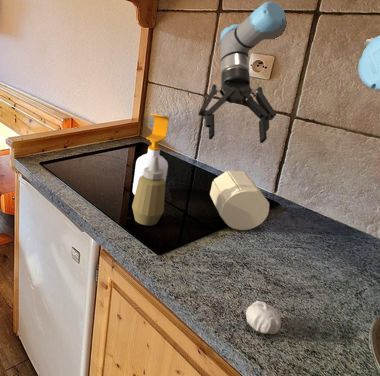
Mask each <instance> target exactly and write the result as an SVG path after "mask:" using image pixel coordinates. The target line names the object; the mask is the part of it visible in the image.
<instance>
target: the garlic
mask: <svg viewBox="0 0 380 376" xmlns="http://www.w3.org/2000/svg"><path fill="white" fill-rule="evenodd" d="M245 317H246V322H247V324H248V325H249V326H250V327H251V328H252V329H253V330H255V331H256V332H258V333H261V334H269V335H275V334H277V333H278V332H279V331H280V329H281V326H282V322H281V321H282V319H281V315H280V313H279V312H278V310H277V309H276V308H275V307H274V306H273V305H270V304H267V303H266V302H264V301H260V300H256V301H254V302H253V303H252V304H251V305H249V306H248V307H247V308H246V311H245Z"/></svg>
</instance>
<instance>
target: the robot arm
mask: <svg viewBox="0 0 380 376" xmlns="http://www.w3.org/2000/svg"><path fill="white" fill-rule="evenodd" d="M284 11H285V10H284V8H283V7H282V6H281V5H280V4H279V3H275V1H266V2H264V3H262V4H261V5H260V6H258V8H256V9H254V10H253V11H252V13H250V14H249V15H248V16H247V17H246V18H245V19H244V20H243V21H242V22H241V23H235V24H231V25H230V26H226V27H225V28H224V29H223V30H222V31H221V33H220V41H219V47H220V48H219V49H220V86H218V85H217V84H215V83H214V84H212V86H211V87H210V89H209V93H208V96H207V98H206V99H205V101H204V102H203V104H202V106H201V107H200V108H199V111H198V114H197V115H198V116H199V117H203V119H204V126H205V128H208V140H212V139H213V138H214V137H215V131H216V130H215V112H217V110H218V109H220V108H221V107H222V106H223V105H224V104H225V103H226V102H227V103H229V104H235V103H236V104H239V105H240V104H241V103H242V105H243V106H244V107H247V108H248V109H249V110H250V111H251V112H252V113H253V114H254V115H255V116H256V117H257V118H258V119H259V121H258V133H259V134H258V135H259V144H263V143H264V142H266V140H267V139H268V135H267V131H268V130H269V129H270V121H273V119H274V118H275V117H276V116H277V112H276V111H275V109H274V108H273V106H272V105H271V103H270V102H269V100H268V99H267V97H266V96H265V94H264V91H263V87H262V86H258V87H256V88H252V87H251V84H250V83H251V75H250V61H249V59H250V57H249V52H250V50H251V49H253V48H254V47H256V46H257V45H259V44H260V43H261V42H262V41H264V40H276V39H275V38H277V37H279V36H281V35H282V34H283V32H284V31H285V28H286V26H287V25H286V24H287V21H286V16H285V12H284ZM365 45H366V48H365V49H364V51H363V53H362V56H361V57H360V58H359V60H358V65H357V71H358V77H359V78H360V80H361V82H362V83H363V84H364V85H365V86H366V87H367V88H370V89H372V90H374V91H379V92H380V35H379V36H377V37H375V38H371V39H367V40H366V42H364V46H365ZM218 93H220V95H221V97H220V98H219V99H218V101H216V102H215V103H214V104H213V105H211V107H210V108H209V109H208V110H207V108H208V107H209V105H210V103H211V102H212V100H213V99H214V96H215V95H218ZM254 98H255V99H254Z"/></svg>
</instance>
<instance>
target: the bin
mask: <svg viewBox="0 0 380 376" xmlns="http://www.w3.org/2000/svg"><path fill="white" fill-rule="evenodd" d="M209 196H210V198H211V200H212V202H213V204H214V206H215V208H216V210H217V213H218V214H219V216H220V218H221V219H222V220H223V222H224V223H225V224H226V225H227V226H228V227H229V228H231V229H233V230H237V231H238V230H239V231H248V230H253V229H254V228H257V227H259V226H260V225H261V224H262V223H264V222H265V221H266V219H267V217H268V215H269V212H270V206H271V205H270V201H268V199H267V198H266V197H265V195H264V194H263V192H262V191H261V190H260V189H259V187H258V186H257V185H256V183H255V182H254V181H253V179H251V178H250V176H249V174H247V172H245V171H238V170H226V171H225V172H223V173H221V174H220V175H219V176H217V177H215V178H214V179H213V180H212V182H211V187H210V191H209Z"/></svg>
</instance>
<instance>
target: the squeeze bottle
mask: <svg viewBox="0 0 380 376" xmlns="http://www.w3.org/2000/svg"><path fill="white" fill-rule="evenodd" d="M162 176H163V171H162V170H161V169H159V162H158V156H153V158H152V161H151V163H150V166H149V167H147V168H145V169H144V173H143V176H141V177H140V178H139V180H138V184H137V188H136V192H135V195H134V196H133V201H132V204H131V208H132V213H133V217H134V221H135V222H136V223H137V224H139V225H142V226H149V227H150V226H155V225H157V224H158V222H159V220H160V219H161V217H162V215H163V214H164V211H165V196H166V182H165V180H164V179H163V178H162Z"/></svg>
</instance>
